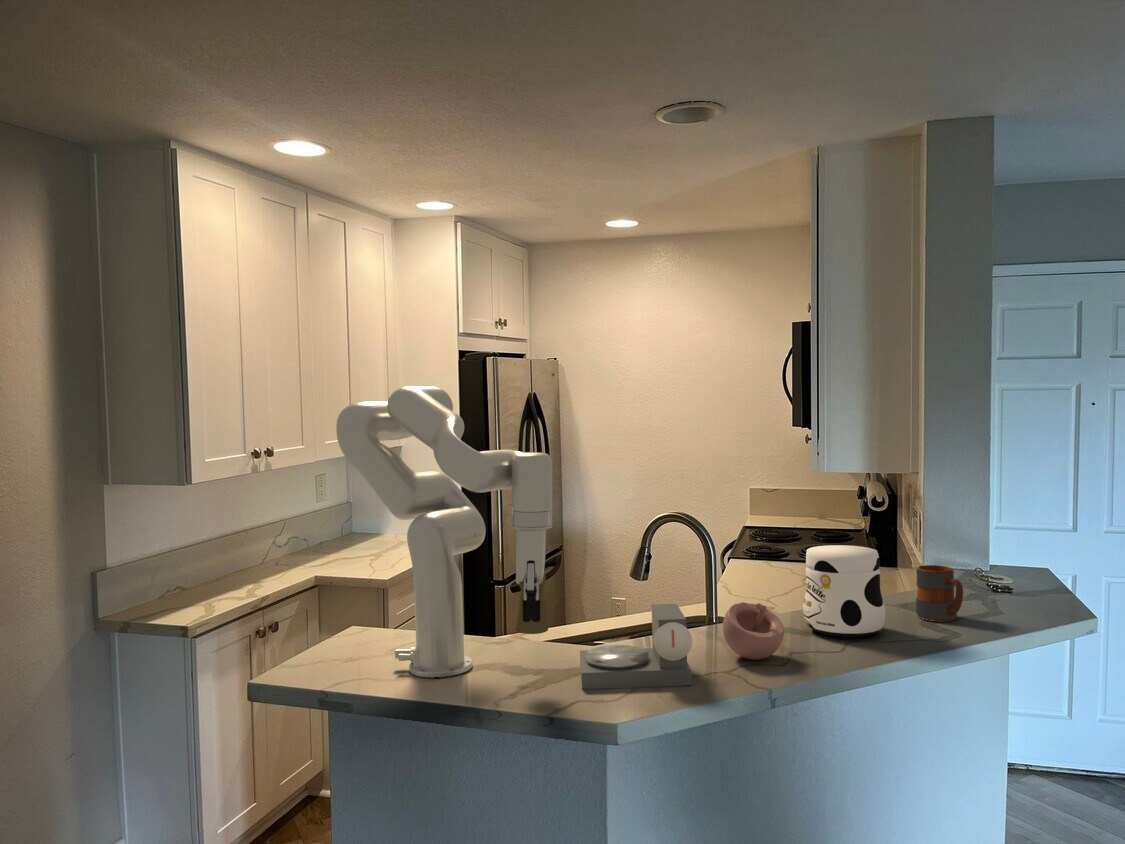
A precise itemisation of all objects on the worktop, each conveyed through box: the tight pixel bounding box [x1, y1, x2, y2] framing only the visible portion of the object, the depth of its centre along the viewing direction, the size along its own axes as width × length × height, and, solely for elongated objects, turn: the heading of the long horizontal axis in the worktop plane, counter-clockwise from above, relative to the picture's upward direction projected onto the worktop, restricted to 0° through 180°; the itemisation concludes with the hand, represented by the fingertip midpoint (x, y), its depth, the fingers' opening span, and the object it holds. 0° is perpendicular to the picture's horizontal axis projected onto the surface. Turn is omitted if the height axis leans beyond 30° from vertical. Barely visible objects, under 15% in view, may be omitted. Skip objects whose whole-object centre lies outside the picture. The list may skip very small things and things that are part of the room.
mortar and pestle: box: [722, 601, 786, 661], centre depth 163 cm, size 12×12×11 cm
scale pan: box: [586, 644, 649, 669], centre depth 155 cm, size 12×12×1 cm
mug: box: [915, 564, 964, 622], centre depth 187 cm, size 9×12×12 cm
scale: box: [579, 603, 693, 690], centre depth 155 cm, size 20×14×12 cm
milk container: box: [802, 544, 887, 638], centre depth 180 cm, size 17×17×18 cm
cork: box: [515, 573, 549, 635], centre depth 151 cm, size 6×6×11 cm
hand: (531, 616), depth 151 cm, fingers closed on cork, 4 cm apart
